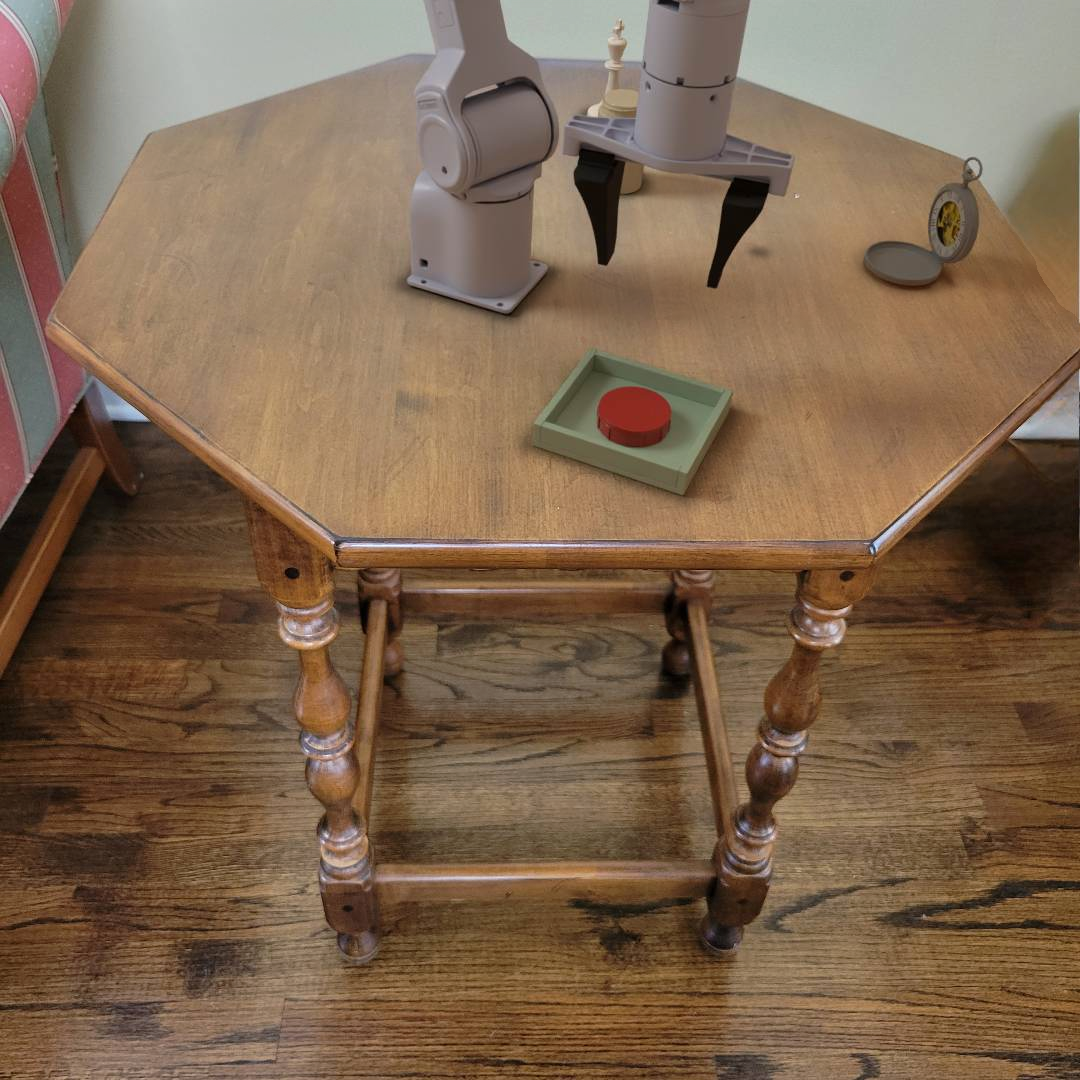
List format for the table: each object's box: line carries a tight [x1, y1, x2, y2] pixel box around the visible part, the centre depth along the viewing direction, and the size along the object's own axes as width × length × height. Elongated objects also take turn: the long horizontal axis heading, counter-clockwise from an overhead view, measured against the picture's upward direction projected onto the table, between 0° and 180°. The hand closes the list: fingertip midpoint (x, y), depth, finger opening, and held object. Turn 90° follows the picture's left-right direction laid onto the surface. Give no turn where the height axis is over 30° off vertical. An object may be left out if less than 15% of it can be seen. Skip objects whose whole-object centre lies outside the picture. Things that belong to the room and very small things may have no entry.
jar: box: [598, 88, 645, 195], centre depth 100 cm, size 5×5×8 cm
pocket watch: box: [863, 156, 984, 287], centre depth 91 cm, size 8×8×10 cm
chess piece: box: [586, 18, 628, 117], centre depth 110 cm, size 5×5×10 cm
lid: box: [597, 386, 671, 447], centre depth 75 cm, size 5×5×2 cm
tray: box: [532, 347, 734, 496], centre depth 76 cm, size 11×10×2 cm
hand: (659, 269), depth 74 cm, fingers open, 7 cm apart
